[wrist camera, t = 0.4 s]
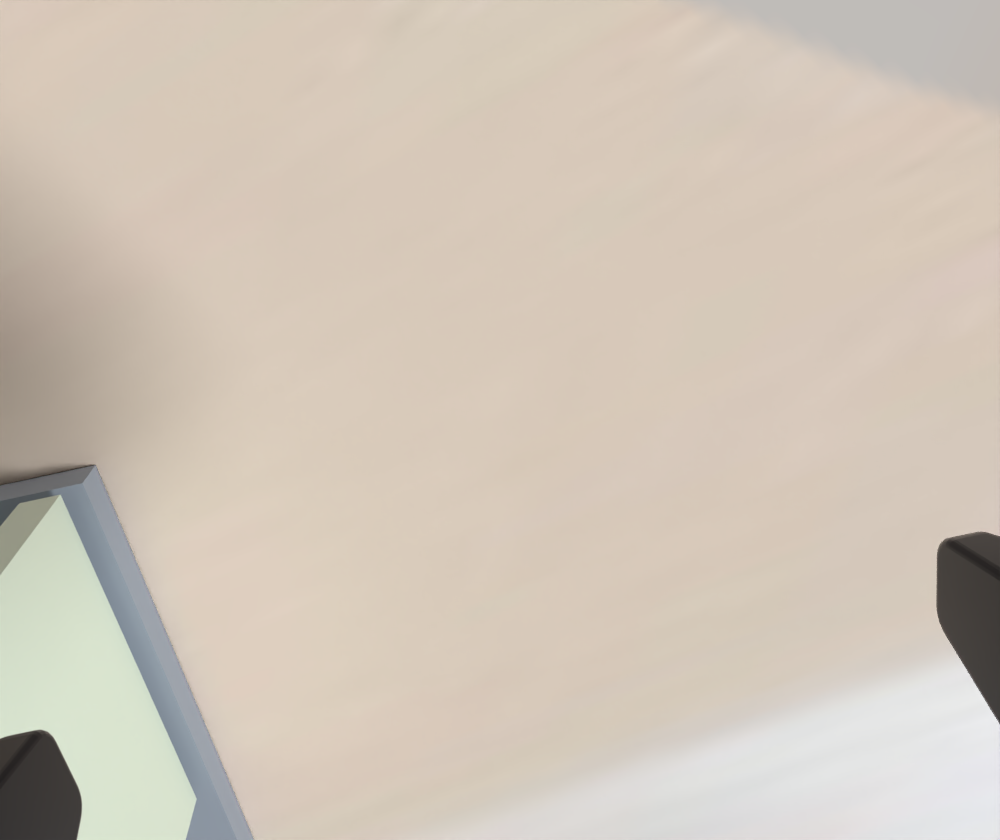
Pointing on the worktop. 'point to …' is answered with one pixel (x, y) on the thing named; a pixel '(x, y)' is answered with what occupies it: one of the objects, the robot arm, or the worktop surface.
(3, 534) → the hood
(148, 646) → the grey base plate
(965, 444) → the worktop surface
